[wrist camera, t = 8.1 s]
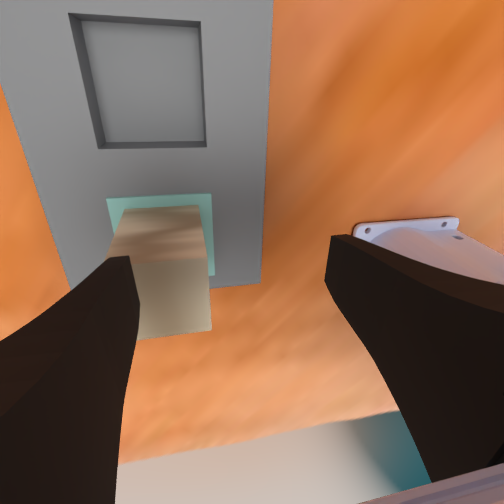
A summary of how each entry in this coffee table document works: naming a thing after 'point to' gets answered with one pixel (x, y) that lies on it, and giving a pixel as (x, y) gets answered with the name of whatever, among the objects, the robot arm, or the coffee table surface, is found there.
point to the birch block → (166, 268)
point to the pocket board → (143, 119)
